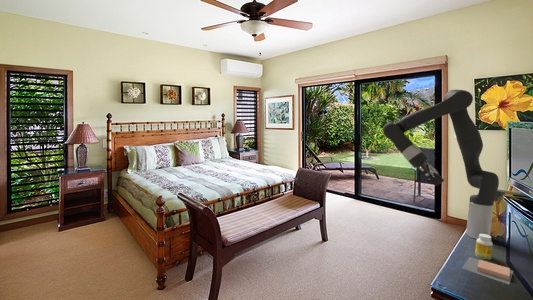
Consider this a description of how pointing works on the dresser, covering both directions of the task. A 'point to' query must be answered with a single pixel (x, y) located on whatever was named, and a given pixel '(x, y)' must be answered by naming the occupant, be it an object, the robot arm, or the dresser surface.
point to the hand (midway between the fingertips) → (440, 183)
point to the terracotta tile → (494, 269)
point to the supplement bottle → (484, 246)
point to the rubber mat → (472, 266)
